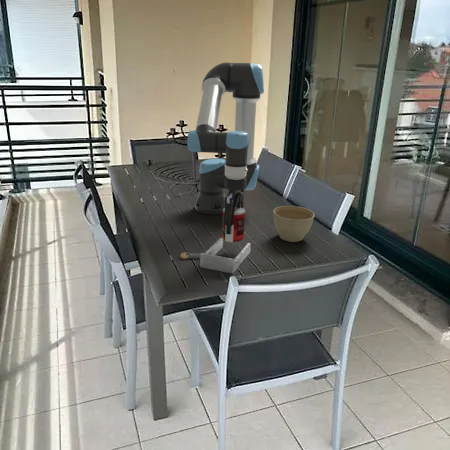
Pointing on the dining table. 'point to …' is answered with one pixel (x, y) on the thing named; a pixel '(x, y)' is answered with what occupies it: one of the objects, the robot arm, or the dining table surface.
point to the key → (190, 255)
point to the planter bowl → (292, 222)
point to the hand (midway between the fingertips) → (233, 237)
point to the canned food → (236, 225)
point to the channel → (222, 258)
